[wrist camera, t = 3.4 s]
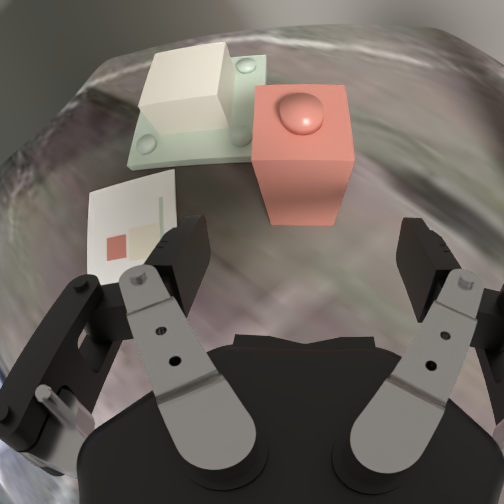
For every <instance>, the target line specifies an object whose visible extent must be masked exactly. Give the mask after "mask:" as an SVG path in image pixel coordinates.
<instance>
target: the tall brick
mask: <svg viewBox="0 0 504 504" xmlns="http://www.w3.org/2000/svg"><path fill="white" fill-rule="evenodd" d="M251 161H252V164H253V168H254V171H255V174H256V177H257V180H258V183H259V187H260V190H261V193H262V196H263V200H264V203H265V206H266V209H267V212H268V216H269V219H270V222H271V225H317V226H333V225H334V222H335V219H336V217H337V214H338V211H339V208H340V205H341V202H342V199H343V196H344V193H345V190H346V187H347V184H348V181H349V178H350V175H351V172H352V169H353V166H354V163H355V157H354V148H353V139H352V131H351V123H350V116H349V109H348V103H347V96H346V90H345V85H320V84H285V85H258V86H255V102H254V120H253V138H252V156H251Z"/></svg>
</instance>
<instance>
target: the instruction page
mask: <svg viewBox="0 0 504 504" xmlns="http://www.w3.org/2000/svg"><path fill="white" fill-rule="evenodd" d="M173 227H177V211H176V188H175V169H171V170H167V171H163V172H160V173H156V174H152V175H148V176H144V177H141V178H137V179H133V180H130V181H126V182H123V183H119V184H116V185H113V186H109V187H106V188H103V189H99V190H96V191H93V192H90V194H89V210H88V234H87V274H93V275H95V276H97V277H98V279H99V282H100V284H101V285H105V284H111V283H117V282H119V278H120V276H121V275H122V274H123V273H124V272H125V271H126V270H128V269H130V268H132V267H134V266H137V265H143V264H144V262H145V261H146V259H147V258H148V256H149V255H150V254H151V252H152V251H153V249H154V248H155V246H156V245H157V243H158V242H159V241H160V239H161V238H162V236H163V235H164V234H165V233H166V232H168V231H169V230H170V229H172V228H173Z"/></svg>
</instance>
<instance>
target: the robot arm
mask: <svg viewBox="0 0 504 504" xmlns="http://www.w3.org/2000/svg"><path fill="white" fill-rule="evenodd" d="M209 262H210V245H209V239H208V233H207V227H206V221H205V217H204V216H203V215H192V216H184V218H183V219H182V221H181V222H180V224H179V225H178V227H173V228H172V229H170V230H169V231H168V232H166V233H165V234H164V235H163V236H162V238H161V239H160V241H159V242H158V243H157V245H156V246H155V248H154V249H153V251H152V252H151V254H150V255H149V256H148V258H147V259H146V261H145V262H144V264H143V265H137V266H134V267H132V268H130V269H128V270H126V271H125V272H124V273H123V274H122V275H121V276H120V278H119V282H117V283H111V284H105V285H101V284H100V282H99V279H98V277H97V276H95V275H93V274H86V275H82V276H79V277H77V278H75V279H73V280H72V281H71V282H70V283H69V284H68V285H67V286H66V288H65V289H64V290H63V292H62V293H61V294H60V296H59V297H58V299H57V300H56V301H55V303H54V304H53V306H52V307H51V309H50V310H49V311H48V313H47V314H46V316H45V317H44V319H43V320H42V322H41V323H40V325H39V326H38V328H37V329H36V331H35V332H34V334H33V335H32V337H31V338H30V340H29V342H28V343H27V345H26V346H25V348H24V349H23V351H22V353H21V354H20V356H19V358H18V359H17V361H16V363H15V364H14V366H13V368H12V369H11V371H10V373H9V375H8V376H7V378H6V380H5V382H4V384H3V385H2V387H1V389H0V439H1V440H2V441H3V442H5V443H6V444H7V445H8V446H9V447H10V448H11V449H12V450H13V451H15V452H16V453H17V454H19V455H20V456H21V457H23V458H24V459H26V460H27V461H29V462H30V463H32V464H33V465H35V466H37V467H39V468H41V469H42V470H44V471H46V472H47V473H49V474H51V475H53V476H62V475H65V474H66V475H68V476H70V477H73V478H75V479H78V485H79V504H498V501H499V497H500V494H501V492H504V284H503V286H502V289H501V291H500V292H499V291H494V290H490V289H486V288H484V284H483V282H482V280H481V279H480V278H479V277H478V276H477V275H476V274H475V273H473V272H471V271H469V270H465V269H462V268H461V267H460V265H459V263H458V262H457V260H456V259H455V257H454V255H453V254H452V252H450V249H449V248H448V246H446V243H445V242H444V240H443V239H442V237H441V236H439V235H438V234H437V233H435V232H434V231H433V230H429V228H428V227H427V225H426V224H425V222H424V221H423V219H422V218H404V219H403V221H402V225H401V230H400V236H399V241H398V246H397V252H396V263H397V267H398V269H399V272H400V274H401V277H402V280H403V282H404V285H405V287H406V290H407V293H408V296H409V298H410V301H411V304H412V307H413V310H414V313H415V315H416V318H417V321H418V323H422V324H421V326H420V328H419V330H418V331H417V333H416V335H415V337H414V338H413V340H412V342H411V343H410V345H409V347H408V348H407V350H406V352H405V353H404V355H403V356H402V357H401V356H399V355H397V354H395V353H393V352H391V351H388V350H385V349H382V348H378V347H375V342H374V337H339V338H335V339H330V340H325V341H320V342H315V343H309V344H301V343H297V342H292V341H288V340H284V339H280V338H275V337H271V336H257V335H239V334H235V338H234V342H233V344H232V345H227V346H222V347H219V348H216V349H213V350H211V351H209V352H206V351H205V350H204V348H203V346H202V345H201V343H200V341H199V340H198V338H197V336H196V335H195V333H194V331H193V329H192V328H191V326H190V324H189V323H188V321H187V319H186V318H187V316H188V313H189V311H190V308H191V306H192V303H193V301H194V298H195V296H196V294H197V291H198V289H199V286H200V284H201V281H202V279H203V277H204V274H205V272H206V269H207V267H208V265H209ZM83 329H85V331H86V333H87V335H86V337H85V339H84V340H83V342H82V344H81V346H80V348H79V349H78V338H79V336H80V334H81V332H82V330H83ZM127 339H134V340H135V343H136V346H137V349H138V352H139V355H140V358H141V360H142V363H143V366H144V368H145V371H146V374H147V376H148V379H149V382H150V384H151V387H152V389H153V390H152V391H151V392H149V393H148V394H146V395H145V396H143V397H142V398H141V399H139V400H138V401H136V402H135V403H133V404H132V405H130V406H129V407H127V408H126V409H124V410H123V411H122V412H120V413H119V414H117V415H116V416H114V417H113V418H111V419H110V420H108V421H107V422H105V423H104V424H102V425H101V426H99V427H98V428H96V429H95V430H94V427H95V423H94V418H93V416H92V415H91V414H92V411H93V409H94V406H95V404H96V401H97V399H98V396H99V394H100V392H101V389H102V387H103V384H104V382H105V380H106V377H107V375H108V373H109V370H110V368H111V366H112V363H113V361H114V359H115V357H116V354H117V352H118V350H119V348H120V345H121V343H122V341H123V340H127ZM469 346H470V347H475V350H476V353H477V356H478V359H479V362H480V365H481V368H482V372H483V375H484V378H485V382H486V385H487V389H488V393H489V397H490V401H491V405H492V409H493V413H494V418H495V422H496V427H495V429H494V432H493V438H492V437H491V436H490V435H489V434H488V433H487V432H486V431H485V430H484V429H483V428H482V427H481V426H479V425H478V424H477V423H476V422H475V421H474V420H473V419H472V418H471V417H470V416H468V415H467V414H466V413H465V412H464V411H463V410H462V409H461V408H460V407H458V406H457V405H456V404H455V403H454V402H453V401H452V400H451V399H450V398H449V396H450V394H451V391H452V389H453V387H454V384H455V382H456V380H457V377H458V375H459V372H460V370H461V367H462V365H463V362H464V360H465V357H466V354H467V351H468V349H469Z"/></svg>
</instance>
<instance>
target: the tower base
mask: <svg viewBox="0 0 504 504" xmlns="http://www.w3.org/2000/svg"><path fill="white" fill-rule="evenodd" d="M258 85H267V57H266V55H255V56H242V57H231V58H230V55H229V51H228V48H227V45H226V42H218V43H211V44H204V45H197V46H191V47H186V48H180V49H175V50H170V51H165V52H161V53H156V54H155V56H154V59H153V62H152V65H151V67H150V70H149V73H148V76H147V79H146V82H145V85H144V88H143V92H142V95H141V98H140V101H139V105H138V107H139V109H140V110H141V111H140V115H139V118H138V122H137V126H136V129H135V133H134V137H133V141H132V145H131V150H130V154H129V158H128V163H127V167H128V168H130V169H131V170H132V171H134V170H143V169H153V168H163V167H175V166H188V165H202V164H220V163H243V162H252V161H251V156H252V138H253V120H254V102H255V86H258Z"/></svg>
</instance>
